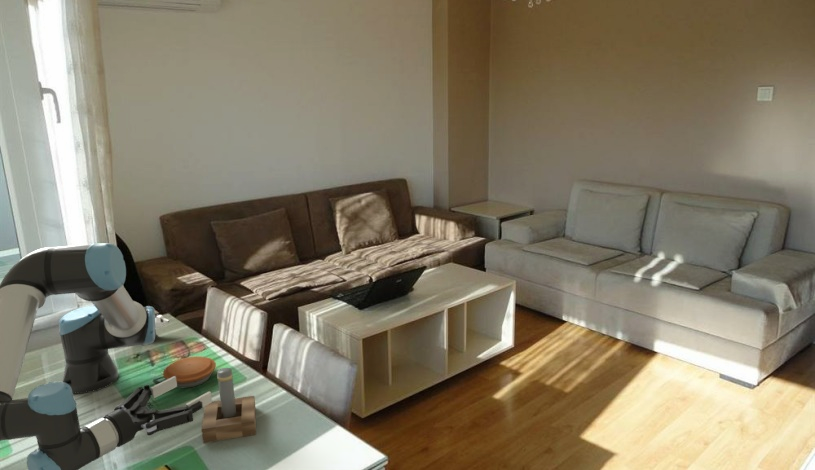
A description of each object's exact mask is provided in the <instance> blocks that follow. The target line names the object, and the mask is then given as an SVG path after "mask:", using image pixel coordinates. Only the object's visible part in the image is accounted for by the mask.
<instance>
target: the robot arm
mask: <svg viewBox="0 0 815 470" xmlns="http://www.w3.org/2000/svg"><path fill="white" fill-rule="evenodd" d="M126 277H127V267H126V262H125V260H124V255H123V253H122V251H121V249H119V247H118V246H117V245H115V244H114V243H109V242H108V243H107V242H106V243H105V242H104V243H102V242H95V243H91V244H89V243H88V244H79V245H78V244H77V245H65V246H64V245H63V246H47V247H42V248H39V249H36V250H34V251H31V252H29V253H28V254H26V255H25V256H24V257H22V258H21V259H20V260H18V261H17V262H15V264H14V265H13V266H12V267H11V268H10V269H9V271H8V272H7V273H6V274H5V275H4V277H3V279H2V280H1V282H0V442H1V441H2V442H3V441H7V440H8V441H9V440H10V441H11V440H17V439H24V438H25V439H26V438H31V437H32V438H33V437H35V438H36V441H37V446H38V448H36V449H34V450H33V451H32V452H30V453H29V454H27V457H26V467H27V469H28V470H80V469H82V468H83V467H85V466H86V465H89V464H90V463H92V462H94V461H96V460H97V459H99V458H102V457H103V456H105V455H107V454H109V453H111V452H112V451H114V450H116V448H120V447H122V446H124V445H125V444H127V443H129V442H130V441H133V440H134V439H135V437H136V434H137V433H138V432H141V431H143V430H144V431H146V435H147V436H152V435H154V434H156V433H158V432H161V431H164V430H167V429H171V428H175V427H178V426H182V425H184V424H185V425H186V424H188V423H191V422H193V421H194V415H193V414H195V413H197V412H199V411H200V410H202V409H203V408H205V406H206V405H208V404H210V403H212V402H213V399H212V392H211V391H206V392H205V393H204V394H201V395H200V396H198V397H196V398H194V399H191V400H190V401H189V402H187V403H185V406H180V407H175V408H174V407H173V408H168V409H161V410H160V409H159V410H158V409H156V408H154V409H151V408H147V405H148V403H149V401H150V400H151V398H153V399H155V398H157V397H159V396H161V395H163V394H165V393H167V392H169V391H171V390H173V389H175V388H178V387H177V381H176V377H175V376H173V377H171V378H169V379H165V380H163V381H162V382H160V383H157V384H155V385H153V386H150V384H145V385H144V387H143V386H138V387H137V388H136V389H135V390H134V391H132V393H131V394H129V395H128V396H127V397H126V398H125V399H124V400H123V401H122V402H121V403H120V404H117V405H116V406H114V407H113V411H112V412H109V413H107V414H106V415H104V416H103V417H99V418H97V419H95V420H93V421H91V422H89V423H87V424H86V425H84V426H82V427H81V426H80V421H79V420H80V419H79V415H78V409H77V402H76V400H75V397H74V394H84V393H85V394H87V393H92V392H95V391H99V390H101V389H104V388H107V387H108V386H110V385H112V384H113V383H115V382H116V380H117V379H118V378H119V370H118V368H117V367H118V366H117V365H116V363H115V362H114V360H113V358H112V357H111V355H110V354H109V350H111V349H120V348H129V347H137V346H144V347H145V345H151V344H153V343H154V342H155V341H154V339H155V340H156V338H155V316H156V312H155V308H154V307H153V306H148V305H146V306H143V305H142V304H141V303H139V302H137V301H135V300H133V299H132V297H131V296H130V294H129V292H128V291H127V290H126V288H125V286H124V284H125V282H126ZM67 294H68V295H69V294H75V295H77V297H78V298H80V299H82V300H84V301H86V302H90V303H92V305H87V306H83V307H79V308H76V309H74V310H71V311H69V312H67V313H66V314H64V315H63V316H62V317H61V318H60V319H59V321H58V326H59V327H58V328H59V335H60V341H61V345H62V350H63V351H62V352H63V355H64V361H65V367H64V372H63V376H62V381H50V382H48V383H45V384H41V385H38V386H36V387H34V388H33V389H32V390H31V391H30V392H29V394H28V395H27V398H26V397H24V398H19V399H13V397H14V395H15V390H16V387H17V384H18V380H19V376H20V373H21V370H22V366H23V362H24V360H25V356H26V352H27V350H28V344H29V341H30V338H31V336H32V335H31V334H32V331H33V328H34V324H35V321H36V317H37V313H38V310H39V309H41V308H42V307H43V306H44V304H45V303H46V299H47V297H50V296H53V295H56V296H57V295H58V296H59V295H67Z"/></svg>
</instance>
